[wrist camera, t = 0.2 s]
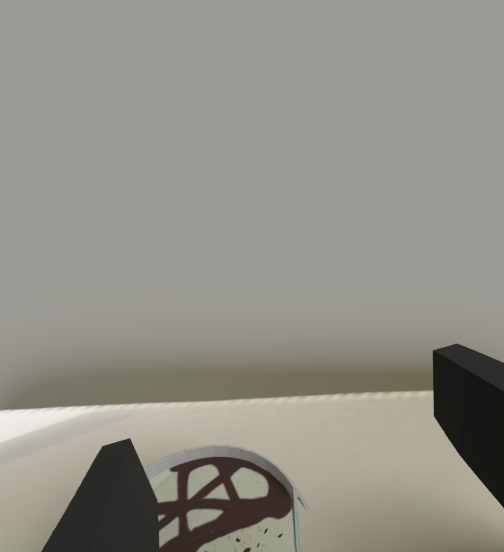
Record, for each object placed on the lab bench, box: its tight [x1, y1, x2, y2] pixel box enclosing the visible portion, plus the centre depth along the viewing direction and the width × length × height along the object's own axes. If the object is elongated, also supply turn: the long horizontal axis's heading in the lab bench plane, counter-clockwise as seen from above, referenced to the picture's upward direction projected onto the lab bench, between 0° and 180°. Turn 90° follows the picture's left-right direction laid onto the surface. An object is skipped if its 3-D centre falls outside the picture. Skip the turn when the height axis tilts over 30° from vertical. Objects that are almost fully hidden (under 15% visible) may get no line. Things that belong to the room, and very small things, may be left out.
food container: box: [144, 445, 309, 552], centre depth 24 cm, size 12×6×10 cm, turn 111°
